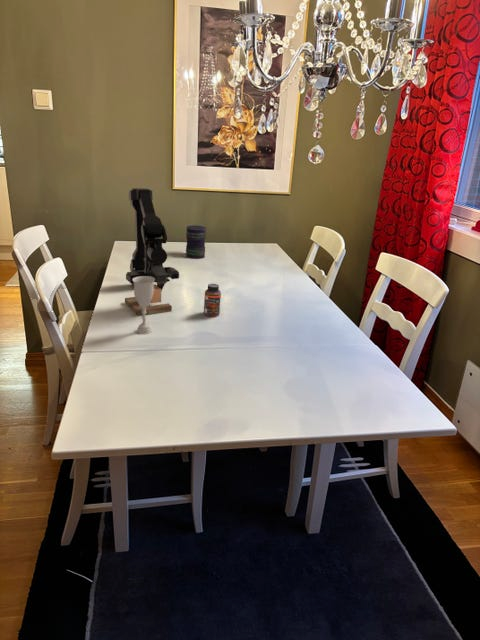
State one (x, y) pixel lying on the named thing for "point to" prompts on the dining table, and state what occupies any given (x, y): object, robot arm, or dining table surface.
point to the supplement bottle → (212, 300)
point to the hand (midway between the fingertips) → (153, 297)
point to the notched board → (154, 309)
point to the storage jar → (195, 242)
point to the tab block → (156, 294)
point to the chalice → (143, 299)
